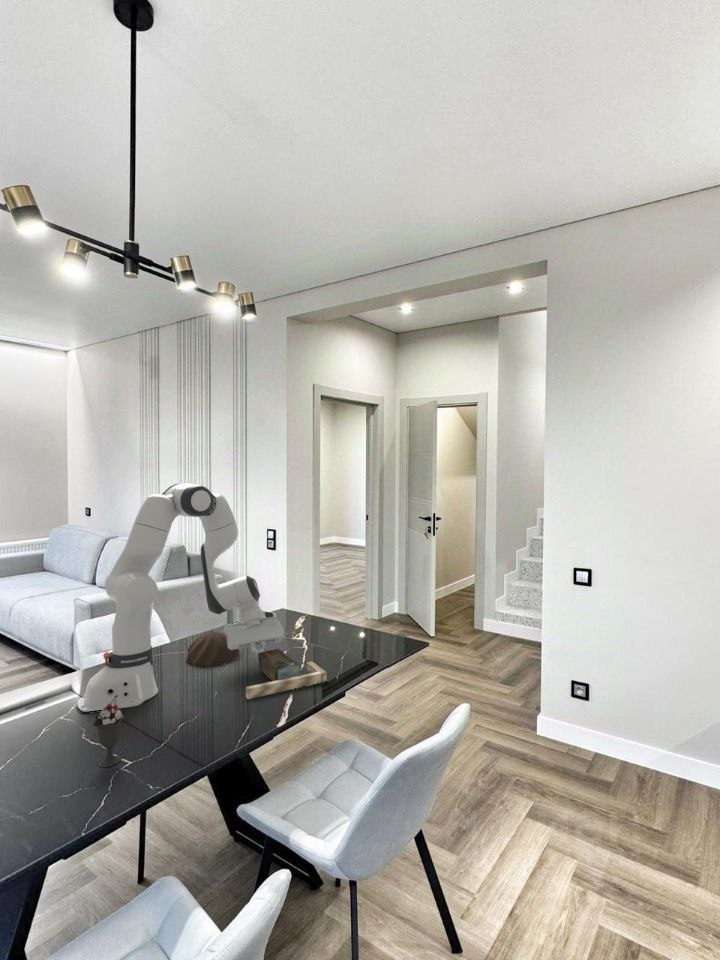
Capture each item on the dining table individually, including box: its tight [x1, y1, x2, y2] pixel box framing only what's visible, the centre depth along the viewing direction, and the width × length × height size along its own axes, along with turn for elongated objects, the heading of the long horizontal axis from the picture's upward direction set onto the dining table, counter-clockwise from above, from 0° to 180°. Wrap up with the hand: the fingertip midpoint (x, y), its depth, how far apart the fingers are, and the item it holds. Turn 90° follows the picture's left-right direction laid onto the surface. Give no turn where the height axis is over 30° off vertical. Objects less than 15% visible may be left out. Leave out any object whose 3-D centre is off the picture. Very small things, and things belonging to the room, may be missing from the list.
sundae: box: [92, 695, 126, 766], centre depth 123 cm, size 7×7×15 cm
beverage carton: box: [258, 648, 301, 682], centre depth 175 cm, size 8×19×7 cm, turn 30°
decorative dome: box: [185, 630, 241, 667], centre depth 196 cm, size 19×20×10 cm
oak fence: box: [245, 661, 328, 700], centre depth 168 cm, size 26×12×3 cm, turn 118°
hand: (260, 655), depth 182 cm, fingers closed
